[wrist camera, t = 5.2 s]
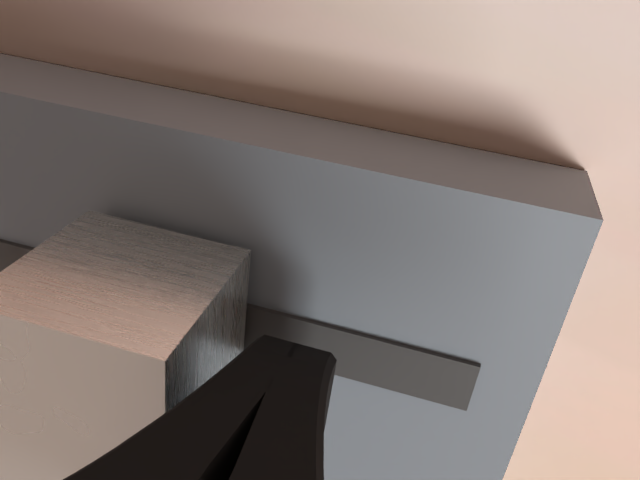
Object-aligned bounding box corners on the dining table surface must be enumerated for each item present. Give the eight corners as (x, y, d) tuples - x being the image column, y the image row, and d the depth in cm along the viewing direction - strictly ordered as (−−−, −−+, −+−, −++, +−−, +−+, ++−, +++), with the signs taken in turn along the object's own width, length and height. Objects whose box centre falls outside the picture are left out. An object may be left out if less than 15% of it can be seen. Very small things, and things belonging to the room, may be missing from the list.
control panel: (402, 684, 19) (388, 788, 16) (-142, 490, 22) (-215, 554, 20) (586, 171, 10) (609, 238, 8) (-328, -13, 14) (-487, 0, 12)
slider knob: (239, 408, 12) (165, 543, 9) (100, 368, 12) (-5, 485, 10) (250, 250, 10) (165, 361, 8) (88, 210, 11) (-44, 302, 8)
